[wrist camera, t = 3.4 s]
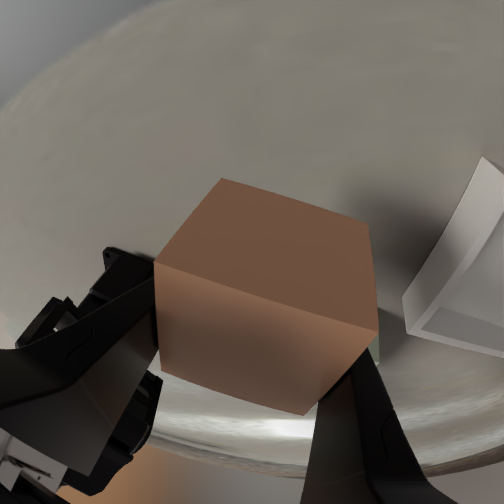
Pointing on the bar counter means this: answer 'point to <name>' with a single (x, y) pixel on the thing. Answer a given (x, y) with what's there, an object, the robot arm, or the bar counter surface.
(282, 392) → the brick
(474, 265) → the tote
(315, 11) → the bar counter surface
